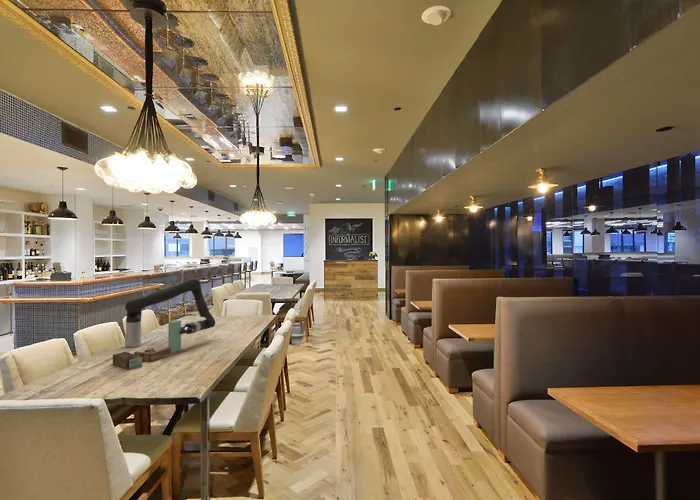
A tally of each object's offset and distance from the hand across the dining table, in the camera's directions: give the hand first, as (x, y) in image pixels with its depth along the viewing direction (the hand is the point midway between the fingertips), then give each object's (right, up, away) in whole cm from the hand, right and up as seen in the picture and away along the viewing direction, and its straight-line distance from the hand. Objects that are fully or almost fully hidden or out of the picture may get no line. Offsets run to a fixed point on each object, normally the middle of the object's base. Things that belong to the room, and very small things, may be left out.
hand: (175, 332), depth 254 cm
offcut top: (-10, -10, -14) cm, 20 cm away
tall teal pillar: (0, -13, 0) cm, 13 cm away
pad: (0, -13, 0) cm, 13 cm away
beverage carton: (-14, -13, -31) cm, 36 cm away
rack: (-7, -13, -14) cm, 20 cm away
